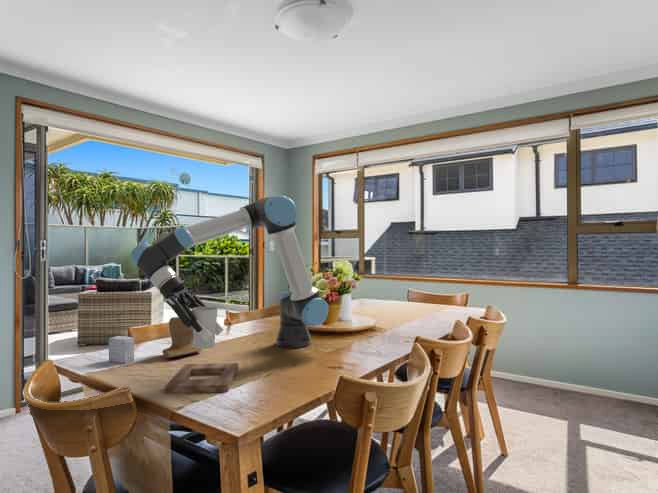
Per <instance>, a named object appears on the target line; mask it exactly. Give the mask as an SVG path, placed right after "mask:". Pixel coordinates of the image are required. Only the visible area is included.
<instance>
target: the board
mask: <svg viewBox="0 0 658 493" xmlns="http://www.w3.org/2000/svg"><path fill="white" fill-rule="evenodd" d="M238 370H239V362H222V363H185V364H184V365H183V366H182V367H180V369H179V370H178V372H176V373H175V375H174V376H173V377H171V379H170V380H169V381H168V383H166V384H165V386H164V394H184V393H185V392H188V393H190V392H193V393H220V392H221V393H227V392H229V390H230V388H231V387H232V386H231V385H232V383H233V382H234V380H235V378H236V375H237V372H238ZM193 375H194V376H195V375H199V376H200V375H220V377H219V378H206V379H205V378H204V379H202V378H201V379H199V378H198V379H196V378H195V379H193V378H192V379H190V377H191V376H193ZM188 393H187V394H188ZM185 394H186V393H185Z"/></svg>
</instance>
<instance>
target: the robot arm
mask: <svg viewBox="0 0 658 493" xmlns="http://www.w3.org/2000/svg"><path fill="white" fill-rule="evenodd" d="M297 210H298V209H297V207H296V204H295V202H294V201H293V200H292V199H291V198H290V197H288V196H286V195H282V194H281V195H280V194H275V195H271V196H268V197H263V198H260V199H258V200H256V201H254V202H251V203H249V204H246V205H243V206H241V207H240V208H239V209H238V210H236V211H233V212H230V213H227V214H224V215H220V216H217V217H214V218H211V219H207V220H204V221H200V222H198V223H197V222H196V223H194V224H191V225H189V226H185V227H184V226H180V227H178V228H176V229H174V230H172V231H168V232H163V233H160V234H159V235H158V236H157V237H156V238H155V240H154V243H153V244H150V243H149V242H142V243H140V244H138V245H136V246H135V247H134V248H133V249H132V250H131V252H130V257H129V258H130V259H131V261H132V262H133V264H135V265H136V267H137V268H138V269H139V270H140V272H141V273H142V274H143V275H144V276H145V277H146V278H147V279H148V280H149V282H150V283H151V284H152V285H153V287H155V289H156V290H158V291H159V293H160V295H162V296H163V298H164V299H165V300H166V304H167V305H168V306H169V307H171V309H172V310H173V311H174V313H175V314H176V317H179V318H180V320H181V321H182V322H183V324H184V325H187V324H188V325H187V327H190V326H192V327H193V328H194V329H195V331H196V332H197V333H198V334H199V335H200V336H201V337H202V339H203V340H204V341H207V340H208V339H209V338H210V337H211V336H212V334H211V333H210V332H209V331H208V330H207V329H206V328H205V326H204V325H203V324H202V323H201V322H200V321H199V320H197V321H196V318H195V317H194V315H193V313H192V308H196V307H208V305H206V304H205V303H204V302H203V301H202V300H201V299H200V298H199V297H198V296H197V295H196V293H195V292H194V291H191V292H188V291H187V290H186V289H185V287H186V283H185V282H184V281H183V279H181V277H180V276H178V273H177V272H176V271H175V270H174V269H173V268H172V267H171V266H170V265H169V264H168V263H170V262H171V261H173V260H174V259H175V258H177V257H178V256H180V255H181V254H183V253H184V252H186V251H188V250H189V249H190V248H191V247H194V246H196V245H199V244H203V243H206V242H208V241H212V240H214V239H218V238H220V237H224V236H227V235H230V234H233V233H237V232H238V231H242V230H245V229H246V230H247V231H250V230H253V229H256V228H257V229H258V228H263V227H264V228H265V230H266V232H267V234H268V236H271V237H272V238H273V242H274V243H275V246H276V250H277V253H278V255H279V257H280V262H281V264H282V267H283V269H284V274H285V275H286V278H287V282H288V284H289V287H290V290H291V291H282V292H280V298H279V310H280V311H279V320H280V321H279V322H280V323H279V329H278V332H277V334H276V338H275V345H276V346H277V347H281V348H287V349H298V348H305V347H308V346H310V345H311V344H312V337H311V334H310V331H309V328H308V327H311V328H312V327H319V326H321V325H322V324H323V323H325V321H326V319H327V317H328V315H329V304H328V302H327V301H326V300H325V299H323V298H321V295H320V293H319V288H317V287H315V286H314V285H313V284H312V280H311V277H310V275H309V271H308V267H307V266H306V262H305V260H304V257H303V252H302V249H301V246H300V244H299V240H298V238H297V234H296V232H295V229H296V227H297V225H298V224H297V222H296V217H297V214H298V213H297V212H298V211H297ZM185 319H186V320H185ZM223 331H224V328H223V326H221V325H220V324H219V323H218V322H217V321H216V331H215V336H217V337H218V336H219V335H220V334H221V333H222V332H223Z"/></svg>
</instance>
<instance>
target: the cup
mask: <svg viewBox="0 0 658 493" xmlns="http://www.w3.org/2000/svg"><path fill="white" fill-rule="evenodd" d="M218 309H219V308H218V307H217V306H207V307H196V308H192V309H191V311H192V313H193V315H194V317H195V318H196V321H197V320H199V321H200V322H201V323H202V324H203V325H204V326H205V328H206V329H207V330H208V331H209V332H210V333H211V334H212V336H211V337H210V338H209V339H208V340H207V341H204V340H203V339H202V337H201V336H200V335H199V334H198V333H197V332H196V331H195V329H194V328H193V335H194V348H198V349H202V350H203V349H205V350H206V349H212V348H214V347H215V345H216V342H215V341H216V334H215V331H216V322H217V319H218Z"/></svg>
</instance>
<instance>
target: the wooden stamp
mask: <svg viewBox="0 0 658 493" xmlns="http://www.w3.org/2000/svg"><path fill="white" fill-rule="evenodd" d="M185 320H186V319H185ZM187 325H188V324H187ZM187 325H184V324H183V322H182V321H181V320H180V318H179V317H178V316H175V317H170V319H169V322H168V329H169V333H170V337H171V338H170V339H171V345H170V346H169V347H167V348H164V349H163V350H162V352H161V353H162V354H163V356H164V358H166V359H170V358H171V359H172V358H177V357H183V356H186V355H191V354H194V353H198V352H200V351H203V349H198V348H194V335H193V327H192V326H190V327H187Z"/></svg>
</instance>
